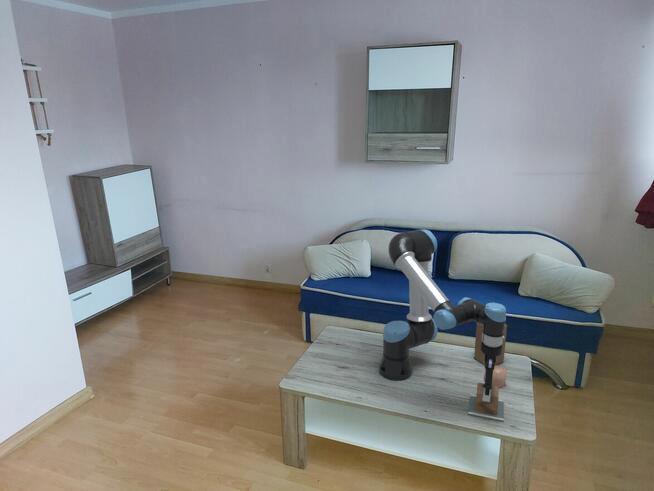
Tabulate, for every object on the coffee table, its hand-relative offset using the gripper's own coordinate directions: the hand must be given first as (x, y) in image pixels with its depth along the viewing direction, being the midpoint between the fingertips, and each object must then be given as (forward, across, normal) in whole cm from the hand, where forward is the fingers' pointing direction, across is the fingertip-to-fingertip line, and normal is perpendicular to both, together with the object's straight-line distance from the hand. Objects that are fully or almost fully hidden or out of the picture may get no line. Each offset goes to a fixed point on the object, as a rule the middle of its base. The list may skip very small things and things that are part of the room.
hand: (486, 390), depth 172 cm
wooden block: (+9, +38, -1) cm, 39 cm away
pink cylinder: (+8, +20, -5) cm, 22 cm away
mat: (+8, 0, 0) cm, 8 cm away
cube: (+7, 0, 0) cm, 7 cm away
